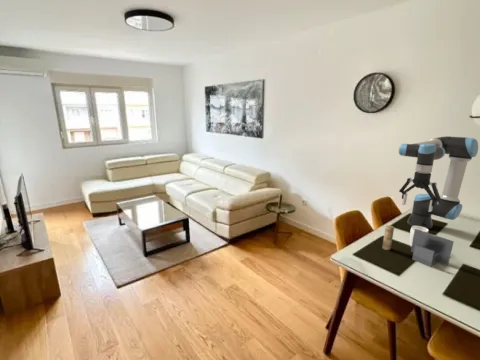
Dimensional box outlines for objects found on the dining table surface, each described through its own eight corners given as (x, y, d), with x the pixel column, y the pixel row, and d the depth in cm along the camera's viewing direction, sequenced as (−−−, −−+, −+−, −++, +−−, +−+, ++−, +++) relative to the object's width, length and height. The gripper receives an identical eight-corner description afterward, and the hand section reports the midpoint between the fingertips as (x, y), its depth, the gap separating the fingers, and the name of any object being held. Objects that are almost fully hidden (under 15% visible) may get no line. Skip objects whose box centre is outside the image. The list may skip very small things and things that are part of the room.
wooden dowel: (384, 245, 161) (387, 224, 157) (391, 248, 157) (395, 227, 154) (380, 247, 158) (384, 226, 155) (388, 250, 155) (391, 229, 151)
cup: (428, 251, 155) (432, 232, 152) (411, 249, 156) (414, 231, 153) (421, 243, 163) (424, 226, 160) (405, 242, 165) (408, 224, 162)
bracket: (411, 250, 155) (416, 229, 152) (448, 264, 141) (453, 241, 137) (403, 255, 149) (407, 233, 146) (440, 271, 135) (446, 246, 131)
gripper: (396, 168, 153) (391, 203, 158) (447, 177, 133) (439, 216, 139) (402, 167, 157) (397, 200, 162) (452, 175, 137) (444, 213, 143)
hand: (416, 207), depth 150 cm, fingers open, 13 cm apart
